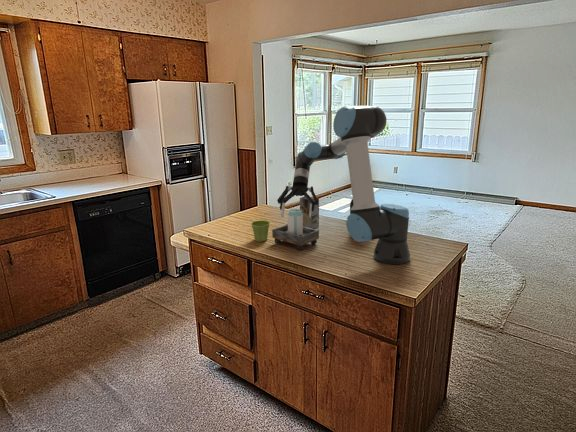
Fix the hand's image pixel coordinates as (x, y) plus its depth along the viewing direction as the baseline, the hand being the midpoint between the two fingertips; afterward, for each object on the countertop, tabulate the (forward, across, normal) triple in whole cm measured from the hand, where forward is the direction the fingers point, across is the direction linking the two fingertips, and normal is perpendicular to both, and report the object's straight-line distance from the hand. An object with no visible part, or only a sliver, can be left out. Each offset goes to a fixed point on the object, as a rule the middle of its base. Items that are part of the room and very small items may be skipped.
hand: (295, 216), depth 180 cm
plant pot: (+10, +18, -9) cm, 22 cm away
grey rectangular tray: (+12, 0, -6) cm, 13 cm away
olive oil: (-2, -30, -20) cm, 36 cm away
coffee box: (-8, -3, -26) cm, 28 cm away
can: (+8, 0, -4) cm, 9 cm away
